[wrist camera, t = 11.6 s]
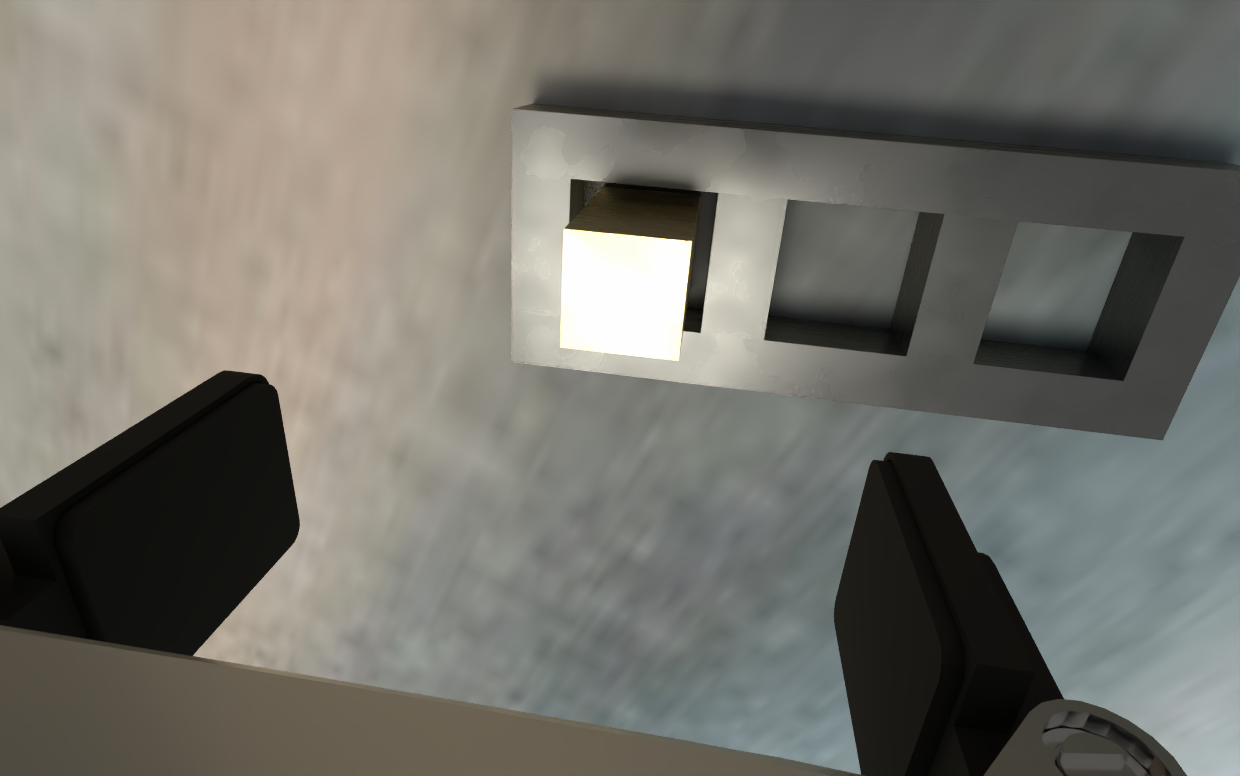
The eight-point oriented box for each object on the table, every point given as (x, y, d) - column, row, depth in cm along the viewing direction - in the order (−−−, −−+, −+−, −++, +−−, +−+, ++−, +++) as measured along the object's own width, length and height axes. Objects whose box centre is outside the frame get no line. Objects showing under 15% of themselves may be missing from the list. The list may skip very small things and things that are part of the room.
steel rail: (1228, 162, 26) (1286, 175, 23) (1123, 405, 30) (1162, 440, 27) (532, 104, 28) (511, 109, 25) (529, 336, 32) (511, 361, 30)
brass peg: (700, 195, 29) (691, 241, 21) (690, 289, 30) (678, 360, 23) (604, 186, 29) (563, 229, 22) (599, 279, 31) (560, 347, 24)
